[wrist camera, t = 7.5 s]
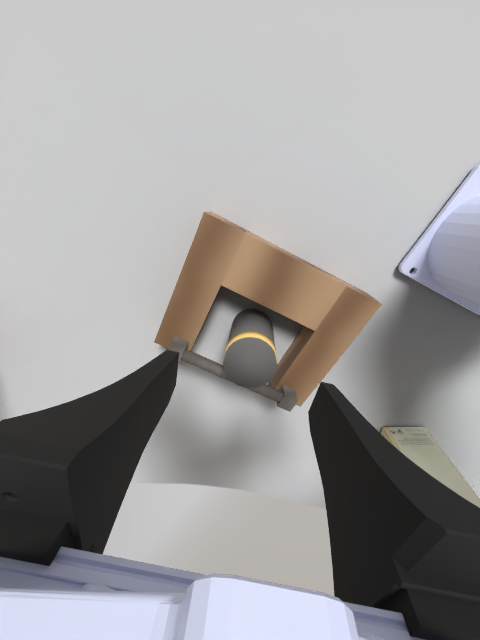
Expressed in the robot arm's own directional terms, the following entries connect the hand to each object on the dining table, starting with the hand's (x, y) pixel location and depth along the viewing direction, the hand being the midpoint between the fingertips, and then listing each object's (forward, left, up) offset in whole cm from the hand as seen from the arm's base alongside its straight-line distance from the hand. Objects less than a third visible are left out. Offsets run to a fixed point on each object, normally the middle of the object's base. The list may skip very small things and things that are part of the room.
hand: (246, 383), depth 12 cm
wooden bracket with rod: (-1, 0, -10) cm, 10 cm away
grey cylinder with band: (-1, +2, -10) cm, 10 cm away
